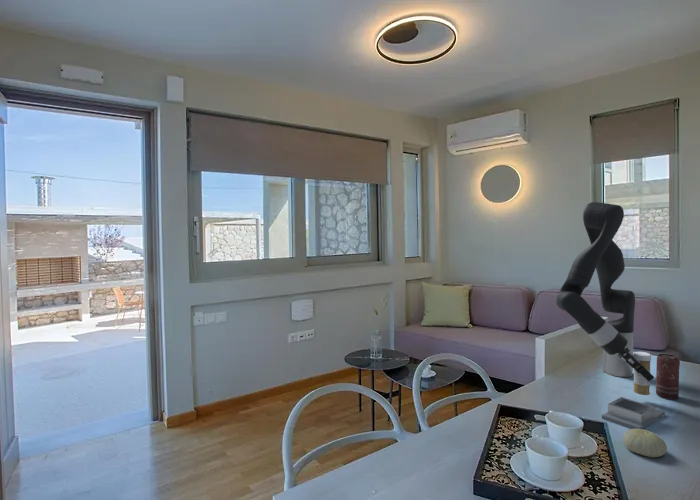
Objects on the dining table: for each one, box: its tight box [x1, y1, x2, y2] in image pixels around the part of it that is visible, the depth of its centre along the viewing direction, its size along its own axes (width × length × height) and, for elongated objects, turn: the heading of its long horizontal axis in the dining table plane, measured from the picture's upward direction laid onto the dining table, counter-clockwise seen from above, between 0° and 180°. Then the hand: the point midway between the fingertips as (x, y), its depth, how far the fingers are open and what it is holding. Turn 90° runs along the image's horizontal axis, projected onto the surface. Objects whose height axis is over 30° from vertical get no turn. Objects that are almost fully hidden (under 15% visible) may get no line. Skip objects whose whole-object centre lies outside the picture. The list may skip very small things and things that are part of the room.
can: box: [655, 353, 681, 401], centre depth 142 cm, size 6×6×14 cm
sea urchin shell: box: [622, 428, 668, 458], centre depth 109 cm, size 9×8×8 cm
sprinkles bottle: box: [633, 351, 652, 396], centre depth 138 cm, size 5×5×13 cm
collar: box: [607, 396, 655, 425], centre depth 126 cm, size 9×9×3 cm
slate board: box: [601, 407, 666, 430], centre depth 128 cm, size 10×18×1 cm, turn 124°
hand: (648, 376), depth 137 cm, fingers closed on sprinkles bottle, 4 cm apart
